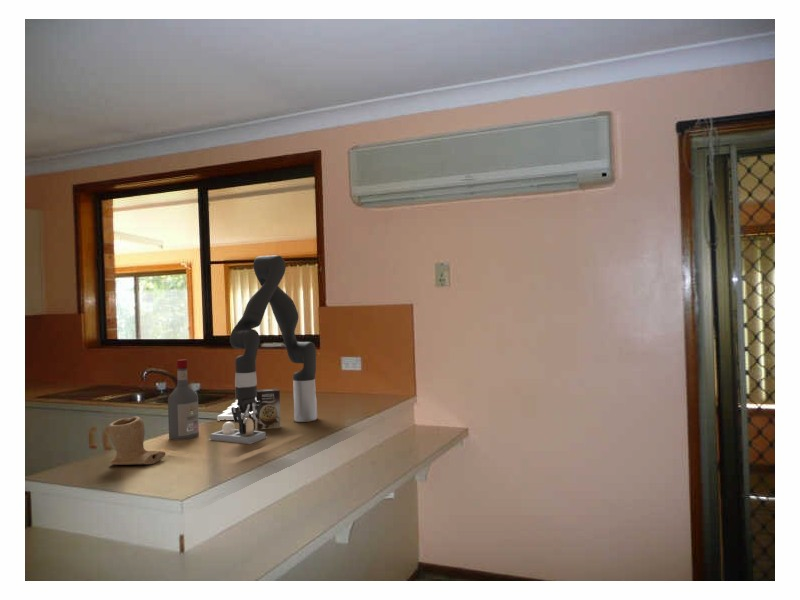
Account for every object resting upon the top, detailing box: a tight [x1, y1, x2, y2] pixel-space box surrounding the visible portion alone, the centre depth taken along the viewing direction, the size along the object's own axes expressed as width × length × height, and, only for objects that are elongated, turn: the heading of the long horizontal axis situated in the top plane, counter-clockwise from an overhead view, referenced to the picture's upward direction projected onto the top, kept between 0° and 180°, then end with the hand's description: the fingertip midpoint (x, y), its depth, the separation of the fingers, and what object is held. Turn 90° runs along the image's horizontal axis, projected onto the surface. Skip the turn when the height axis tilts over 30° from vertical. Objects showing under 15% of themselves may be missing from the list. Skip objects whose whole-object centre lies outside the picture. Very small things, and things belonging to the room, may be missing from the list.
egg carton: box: [208, 428, 268, 445], centre depth 206 cm, size 10×19×4 cm, turn 66°
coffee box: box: [255, 388, 281, 431], centre depth 224 cm, size 9×6×16 cm
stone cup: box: [107, 415, 166, 466], centre depth 182 cm, size 15×12×15 cm
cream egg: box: [221, 421, 236, 435], centre depth 208 cm, size 4×4×6 cm
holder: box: [217, 398, 256, 422], centre depth 268 cm, size 45×18×3 cm, turn 171°
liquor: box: [167, 359, 200, 441], centre depth 212 cm, size 9×9×30 cm
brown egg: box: [241, 417, 255, 436], centre depth 205 cm, size 4×4×6 cm
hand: (247, 431), depth 205 cm, fingers closed on brown egg, 4 cm apart
